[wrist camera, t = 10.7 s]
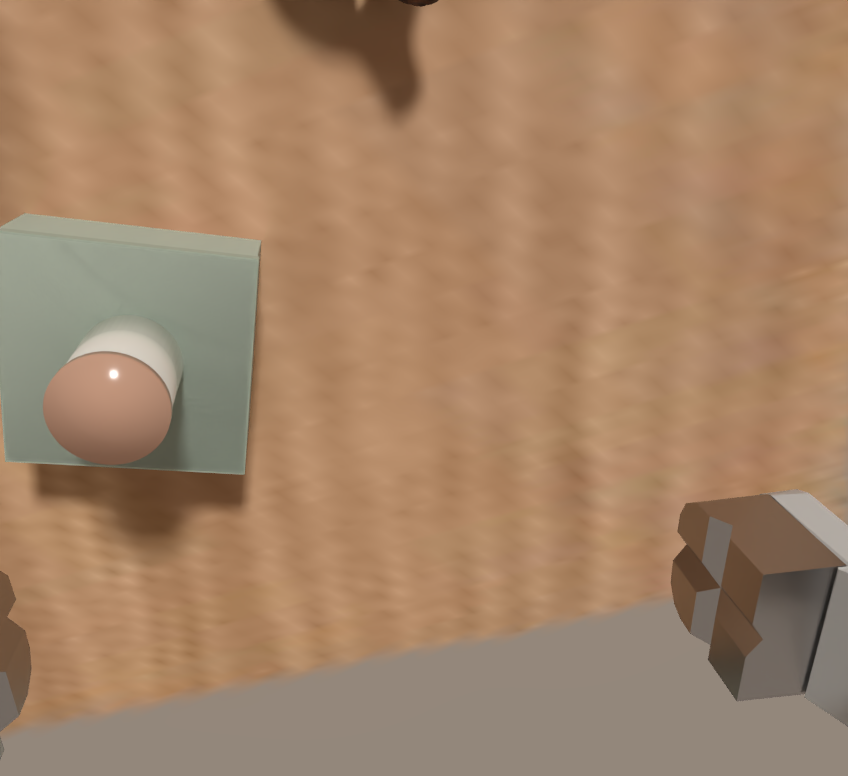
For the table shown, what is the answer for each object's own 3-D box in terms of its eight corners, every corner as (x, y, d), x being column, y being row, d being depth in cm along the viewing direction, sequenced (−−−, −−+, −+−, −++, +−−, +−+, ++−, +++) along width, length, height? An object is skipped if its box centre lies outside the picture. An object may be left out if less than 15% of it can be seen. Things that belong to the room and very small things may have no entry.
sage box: (24, 209, 39) (-12, 229, 34) (263, 237, 41) (258, 259, 37) (36, 419, 43) (5, 461, 39) (250, 433, 46) (244, 474, 41)
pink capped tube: (68, 314, 36) (32, 358, 31) (179, 311, 37) (163, 353, 32) (85, 411, 38) (54, 468, 33) (190, 406, 39) (176, 460, 34)
